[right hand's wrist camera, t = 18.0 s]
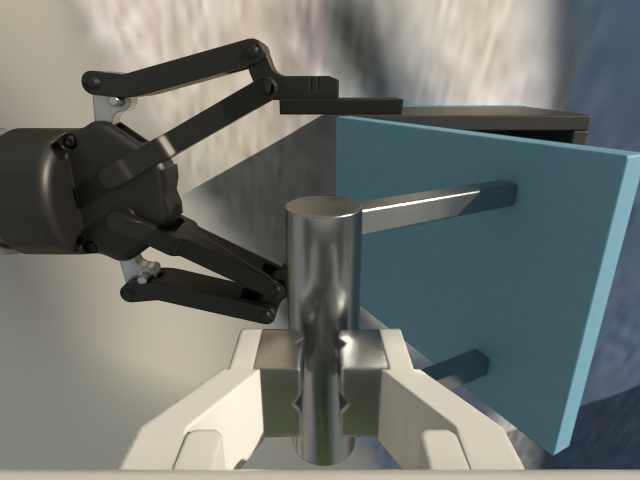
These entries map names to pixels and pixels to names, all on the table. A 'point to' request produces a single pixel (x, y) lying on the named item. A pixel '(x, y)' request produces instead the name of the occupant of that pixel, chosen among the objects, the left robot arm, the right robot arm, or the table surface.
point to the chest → (497, 121)
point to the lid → (460, 267)
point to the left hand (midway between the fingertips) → (393, 193)
